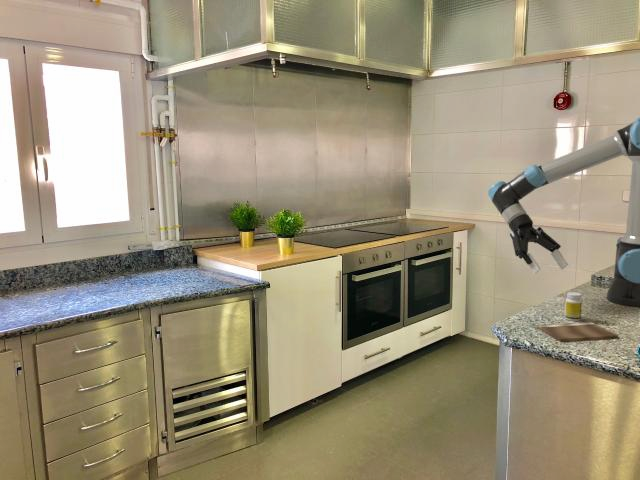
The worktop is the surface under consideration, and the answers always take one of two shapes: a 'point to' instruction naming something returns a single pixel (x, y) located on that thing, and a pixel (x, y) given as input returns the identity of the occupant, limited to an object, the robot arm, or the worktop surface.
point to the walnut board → (576, 331)
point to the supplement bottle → (573, 306)
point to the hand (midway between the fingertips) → (551, 269)
